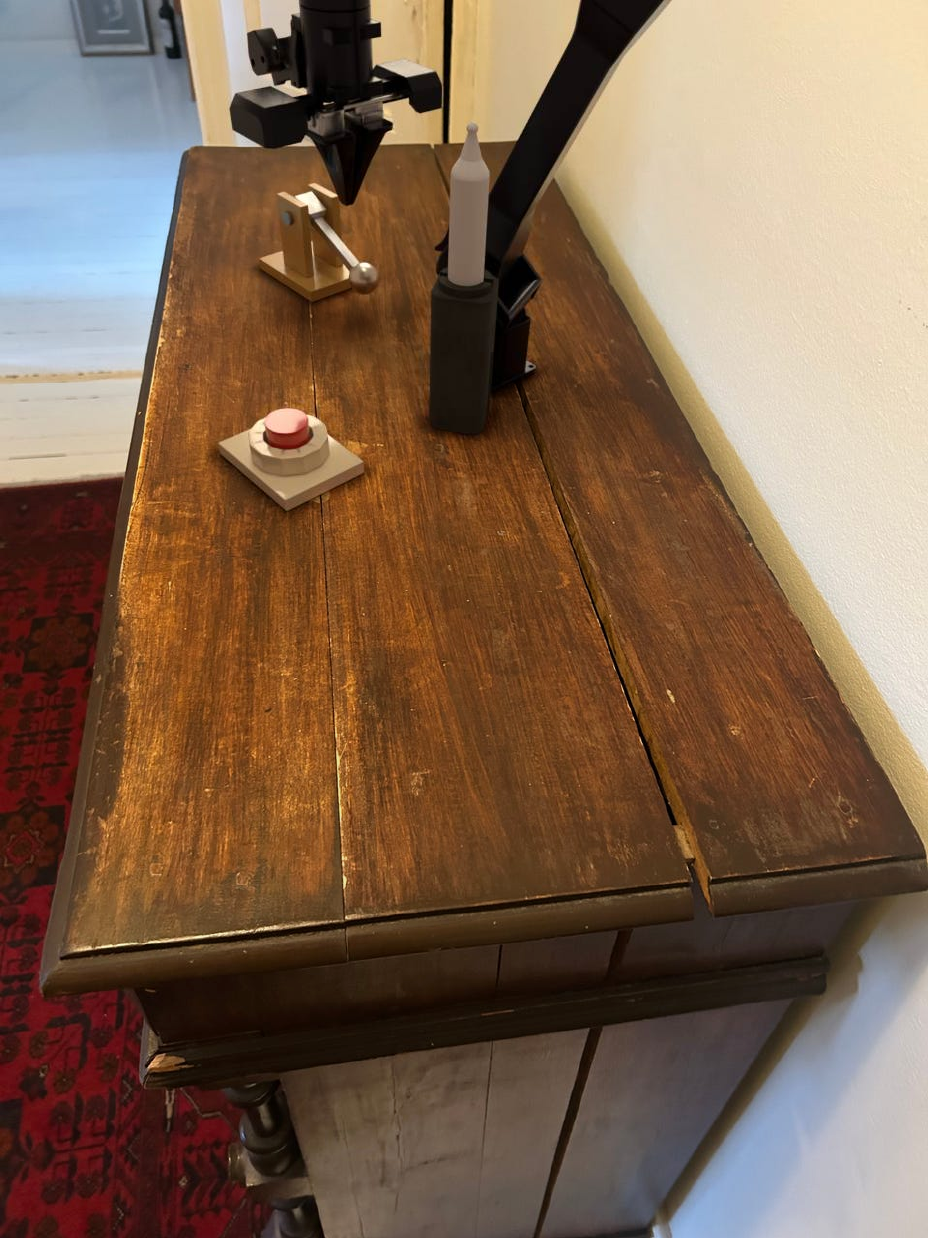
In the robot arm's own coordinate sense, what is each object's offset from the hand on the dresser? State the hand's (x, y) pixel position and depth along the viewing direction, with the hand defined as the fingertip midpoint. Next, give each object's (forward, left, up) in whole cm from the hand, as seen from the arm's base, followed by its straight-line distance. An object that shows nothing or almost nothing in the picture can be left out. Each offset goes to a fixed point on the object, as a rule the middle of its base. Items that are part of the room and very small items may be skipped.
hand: (347, 203), depth 81 cm
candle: (-18, +2, -13) cm, 23 cm away
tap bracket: (+13, -4, -13) cm, 19 cm away
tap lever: (+9, -4, -9) cm, 13 cm away
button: (-14, +18, -10) cm, 25 cm away
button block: (-14, +18, -13) cm, 26 cm away
